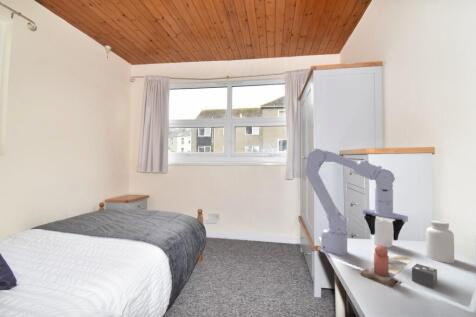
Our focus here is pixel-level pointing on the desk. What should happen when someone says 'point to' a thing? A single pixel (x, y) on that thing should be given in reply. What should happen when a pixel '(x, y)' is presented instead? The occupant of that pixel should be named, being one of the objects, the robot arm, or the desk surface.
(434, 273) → the dark grey block
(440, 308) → the desk surface
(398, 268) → the board
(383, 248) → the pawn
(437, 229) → the pill bottle
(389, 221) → the cup
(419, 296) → the desk surface
